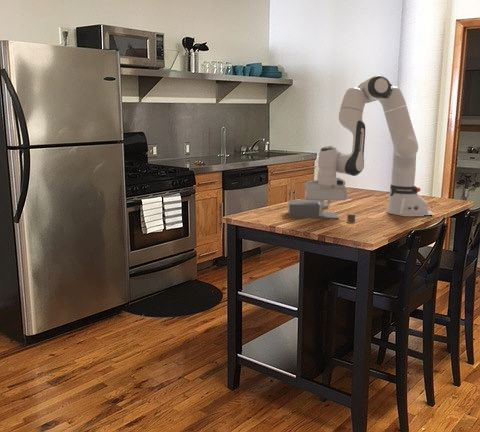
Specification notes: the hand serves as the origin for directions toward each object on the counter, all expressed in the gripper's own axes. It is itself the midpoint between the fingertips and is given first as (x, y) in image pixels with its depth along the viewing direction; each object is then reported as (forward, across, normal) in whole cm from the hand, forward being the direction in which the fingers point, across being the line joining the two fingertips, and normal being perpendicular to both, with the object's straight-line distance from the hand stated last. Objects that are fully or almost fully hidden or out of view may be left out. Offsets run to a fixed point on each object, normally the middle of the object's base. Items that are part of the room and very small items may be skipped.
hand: (325, 209), depth 261 cm
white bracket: (+2, -9, +1) cm, 9 cm away
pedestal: (+4, +10, -12) cm, 16 cm away
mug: (+4, 0, +20) cm, 20 cm away
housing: (+3, -6, 0) cm, 7 cm away
